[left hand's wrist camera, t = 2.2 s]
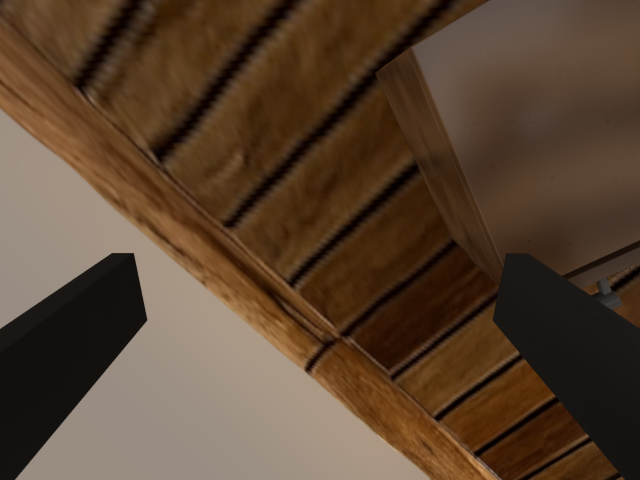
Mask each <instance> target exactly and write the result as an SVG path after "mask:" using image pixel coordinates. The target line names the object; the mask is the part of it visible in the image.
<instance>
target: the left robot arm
mask: <svg viewBox="0 0 640 480" xmlns="http://www.w3.org/2000/svg"><path fill="white" fill-rule="evenodd" d="M146 321H147V316H146V311H145V306H144V301H143V296H142V291H141V286H140V281H139V276H138V271H137V267H136V262H135V257H134V253H112V254H110V255H109V256H107V257H106V258H104V259H103V260H101V261H100V262H98V263H97V264H95V265H94V266H92V267H91V268H90V269H88V270H86V271H85V272H84V273H82V274H81V275H79V276H78V277H76V278H75V279H73V280H72V281H70V282H69V283H67V284H66V285H64V286H63V287H61V288H60V289H58V290H57V291H56V292H54V293H53V294H51V295H50V296H48V297H47V298H45V299H44V300H42V301H41V302H39V303H38V304H36V305H35V306H33V307H32V308H30V309H29V310H27V311H26V312H25V313H23V314H22V315H20V316H19V317H17V318H16V319H14V320H13V321H11V322H10V323H8V324H7V325H5V326H4V327H2V328H1V329H0V480H15V479H16V478H17V477H18V475H19V474H20V473H21V472H22V471H23V469H24V468H25V467H26V466H27V465H28V463H29V462H30V461H31V460H32V459H33V457H34V456H35V455H36V454H37V453H38V451H39V450H40V449H41V448H42V447H43V445H44V444H45V443H46V442H47V441H48V439H49V438H50V437H51V436H52V434H53V433H54V432H55V431H56V430H57V428H58V427H59V426H60V425H61V424H62V422H63V421H64V420H65V419H66V418H67V416H68V415H69V414H70V413H71V412H72V410H73V409H74V408H75V407H76V406H77V404H78V403H79V402H80V401H81V400H82V398H83V397H84V396H85V395H86V394H87V392H88V391H89V390H90V389H91V388H92V386H93V385H94V384H95V383H96V381H97V380H98V379H99V378H100V377H101V375H102V374H103V373H104V372H105V371H106V369H107V368H108V367H109V366H110V365H111V363H112V362H113V361H114V360H115V359H116V357H117V356H118V355H119V354H120V353H121V351H122V350H123V349H124V348H125V347H126V345H127V344H128V343H129V342H130V340H131V339H132V338H133V337H134V336H135V335H136V333H137V332H138V331H139V330H140V328H141V327H142V326H143V325H144V324H145V322H146ZM493 321H494V322H495V324H496V325H497V326H498V327H499V329H500V330H501V331H502V332H503V333H504V335H505V336H506V337H507V338H508V339H509V341H510V342H511V343H512V344H513V345H514V347H515V348H516V349H517V350H518V351H519V353H520V354H521V355H522V356H523V357H524V359H525V360H526V361H527V362H528V363H529V365H530V366H531V367H532V368H533V369H534V371H535V372H536V373H537V374H538V375H539V377H540V378H541V379H542V380H543V381H544V383H545V384H546V385H547V386H548V388H549V389H550V390H551V391H552V392H553V394H554V395H555V396H556V397H557V398H558V400H559V401H560V402H561V403H562V404H563V406H564V407H565V408H566V409H567V410H568V412H569V413H570V414H571V415H572V416H573V418H574V419H575V420H576V421H577V422H578V424H579V425H580V426H581V427H582V428H583V430H584V431H585V432H586V433H587V434H588V436H589V437H590V438H591V439H592V441H593V442H594V443H595V444H596V445H597V447H598V448H599V449H600V450H601V451H602V453H603V454H604V455H605V456H606V457H607V459H608V460H609V461H610V462H611V463H612V465H613V466H614V467H615V468H616V469H617V471H618V472H619V473H620V474H621V475H622V477H623V478H624V479H625V480H640V328H638V327H636V326H635V325H633V324H632V323H630V322H629V321H627V320H626V319H624V318H623V317H621V316H620V315H618V314H617V313H616V312H614V311H613V310H611V309H610V308H608V307H607V306H605V305H604V304H602V303H601V302H599V301H598V300H596V299H595V298H593V297H592V296H590V295H589V294H587V293H586V292H585V291H583V290H582V289H580V288H579V287H577V286H576V285H574V284H573V283H571V282H570V281H568V280H567V279H565V278H564V277H562V276H561V275H559V274H558V273H556V272H555V271H554V270H552V269H551V268H549V267H548V266H546V265H545V264H543V263H542V262H540V261H539V260H537V259H536V258H534V257H533V256H531V255H530V254H528V253H506V257H505V262H504V267H503V271H502V276H501V281H500V286H499V291H498V296H497V301H496V306H495V311H494V316H493Z"/></svg>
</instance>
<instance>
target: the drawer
mask: <svg viewBox="0 0 640 480" xmlns="http://www.w3.org/2000/svg"><path fill="white" fill-rule="evenodd" d="M467 254H468V253H467ZM468 256H469V258H470V259H471V260H472V261H473V262H474V263H475V264H476V265H477V266H478V267H479V268H480V269H481V270H482V271H483V272H484V273H485V274H487V275H488V276H489V277H490V278H491V279H492V280H493V281H494V282H495V283H496V284H497V285H498V286H500V282H499V281H498V280H497V279H496V278H495V277H494V276H492V275H491V274H490V273H489V272H488V271H487V270H486V269H485V268H484V267H483V266H482V265H480V264H479V263H478V262H477V261H476V260H475V259H474V258H473V257H472V256H471V255H469V254H468ZM638 263H640V240H639V241H637V242H635V243H633V244H630V245H628V246H626V247H624V248H622V249H619V250H617V251H615V252H613V253H611V254H608V255H606V256H604V257H602V258H600V259H597V260H595V261H593V262H591V263H589V264H586V265H584V266H582V267H580V268H578V269H575V270H573V271H571V272H569V273H567V274H564V275H562V277H564V278H565V279H567V280H568V281H570V282H571V283H573V284H574V285H576V286H577V287H579V288H580V289H581V288H584V287H586V286H588V285H590V284H593V283H595V282H596V283H597V286H598V289H599V292H597V293H595V294H593V295H591V296H592V297H593V298H595V299H596V300H598V301H599V302H601V303H602V304H604V305H605V306H607V307H608V308H610V309H611V310H613V309H615V308H618V307H620V306H621V305H622V302H621V300H620V298H619V297H618V295H617V294H616V293H615V292H614V291H612V290H611V289H610V286H609V283H608V279H607V277H608V276H611V275H613V274H615V273H617V272H620V271H622V270H624V269H626V268H629V267H631V266H633V265H635V264H638Z"/></svg>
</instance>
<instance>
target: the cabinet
mask: <svg viewBox="0 0 640 480" xmlns="http://www.w3.org/2000/svg"><path fill="white" fill-rule="evenodd" d="M375 74H376V76H377V78H378V81H379V83H380V85H381V87H382V89H383V91H384V94H385V96H386V98H387V100H388V102H389V104H390V107H391V109H392V111H393V113H394V115H395V117H396V120H397V122H398V124H399V126H400V128H401V130H402V133H403V135H404V137H405V139H406V141H407V143H408V146H409V148H410V150H411V152H412V154H413V157H414V159H415V161H416V163H417V165H418V167H419V170H420V172H421V174H422V176H423V178H424V180H425V183H426V185H427V187H428V189H429V191H430V193H431V196H432V198H433V200H434V202H435V204H436V206H437V209H438V211H439V213H440V215H441V217H442V219H443V222H444V224H445V226H446V228H447V230H448V232H449V235H450V237H451V238H452V239H453V240H454V241H455V242H456V243H457V244H459V245H460V246H461V247H462V248H463V249H464V250H465V251H466V252H467V253H468V254H469V255H471V256H472V257H473V258H474V259H475V260H476V261H477V262H478V263H479V264H480V265H482V266H483V267H484V268H485V269H486V270H487V271H488V272H489V273H490V274H491V275H492V276H494V277H495V278H496V279H497V280H498V281H499V282H500V281H501V276H502V271H503V267H504V262H505V257H506V253H528V254H530V255H531V256H533V257H534V258H536V259H537V260H539V261H540V262H542V263H543V264H545V265H546V266H548V267H549V268H551V269H552V270H554V271H555V272H556V273H558V274H559V275H561V276H562V275H564V274H567V273H569V272H571V271H573V270H575V269H578V268H580V267H582V266H584V265H586V264H589V263H591V262H593V261H595V260H597V259H600V258H602V257H604V256H606V255H608V254H611V253H613V252H615V251H617V250H619V249H622V248H624V247H626V246H628V245H630V244H633V243H635V242H637V241H639V240H640V0H487V1H485V2H484V3H482V4H480V5H479V6H477V7H475V8H474V9H472V10H470V11H469V12H467V13H466V14H464V15H462V16H461V17H459V18H457V19H456V20H454V21H452V22H451V23H449V24H447V25H446V26H444V27H442V28H441V29H439V30H438V31H436V32H434V33H433V34H431V35H429V36H428V37H426V38H424V39H423V40H421V41H419V42H418V43H416V44H414V45H413V46H411V47H410V48H409V49H407V50H406V51H404V52H403V53H402V54H400V55H399V56H398V57H396V58H395V59H394V60H392V61H391V62H389V63H388V64H387V65H385V66H384V67H383V68H381V69H380V70H379V71H377V72H376V73H375Z"/></svg>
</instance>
